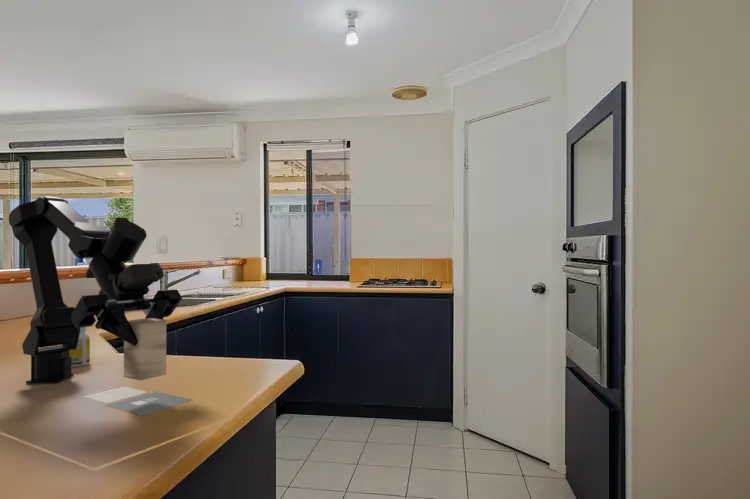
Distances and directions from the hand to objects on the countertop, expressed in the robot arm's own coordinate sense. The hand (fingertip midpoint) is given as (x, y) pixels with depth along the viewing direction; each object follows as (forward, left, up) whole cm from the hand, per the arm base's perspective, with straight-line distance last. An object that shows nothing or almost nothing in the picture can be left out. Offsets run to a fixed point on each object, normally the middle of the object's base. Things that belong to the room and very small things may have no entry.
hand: (150, 341), depth 86 cm
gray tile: (0, 0, -11) cm, 11 cm away
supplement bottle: (-32, +34, -11) cm, 48 cm away
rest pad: (-9, +6, -11) cm, 15 cm away
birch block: (-1, +1, -6) cm, 6 cm away
